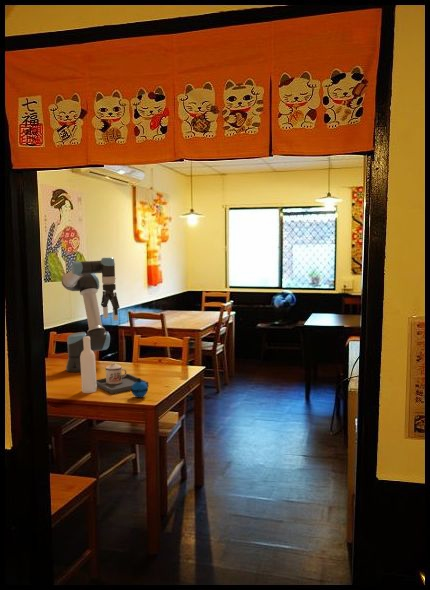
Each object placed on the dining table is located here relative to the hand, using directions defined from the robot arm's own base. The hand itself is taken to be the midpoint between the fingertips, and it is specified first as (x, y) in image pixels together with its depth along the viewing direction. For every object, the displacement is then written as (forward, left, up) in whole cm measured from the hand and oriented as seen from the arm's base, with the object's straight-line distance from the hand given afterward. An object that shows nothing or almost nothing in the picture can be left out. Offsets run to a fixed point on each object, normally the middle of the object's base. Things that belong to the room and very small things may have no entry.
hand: (110, 319), depth 298 cm
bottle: (+20, -24, -35) cm, 47 cm away
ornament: (+48, -8, -35) cm, 60 cm away
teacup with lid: (+17, -6, -34) cm, 38 cm away
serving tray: (+22, -6, -35) cm, 42 cm away
